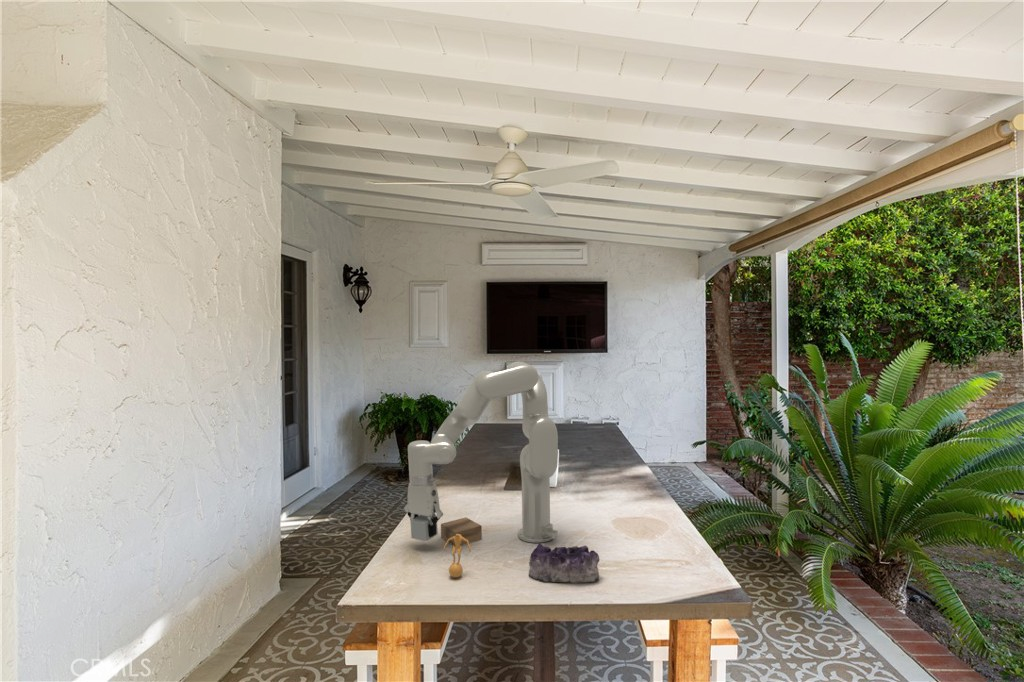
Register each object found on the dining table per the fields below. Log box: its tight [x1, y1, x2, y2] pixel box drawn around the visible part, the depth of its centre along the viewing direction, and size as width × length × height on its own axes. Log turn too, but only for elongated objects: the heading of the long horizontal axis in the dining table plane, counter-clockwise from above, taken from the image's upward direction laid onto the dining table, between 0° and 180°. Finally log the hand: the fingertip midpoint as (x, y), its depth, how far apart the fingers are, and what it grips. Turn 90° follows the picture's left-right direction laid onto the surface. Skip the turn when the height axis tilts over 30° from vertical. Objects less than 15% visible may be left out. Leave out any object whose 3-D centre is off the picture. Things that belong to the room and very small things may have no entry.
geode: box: [528, 542, 600, 584], centre depth 162 cm, size 20×12×10 cm, turn 91°
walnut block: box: [440, 517, 483, 547], centre depth 191 cm, size 10×10×5 cm
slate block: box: [409, 515, 439, 542], centre depth 183 cm, size 6×6×6 cm
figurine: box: [443, 534, 472, 579], centre depth 164 cm, size 8×6×12 cm
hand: (424, 533), depth 183 cm, fingers closed on slate block, 6 cm apart
